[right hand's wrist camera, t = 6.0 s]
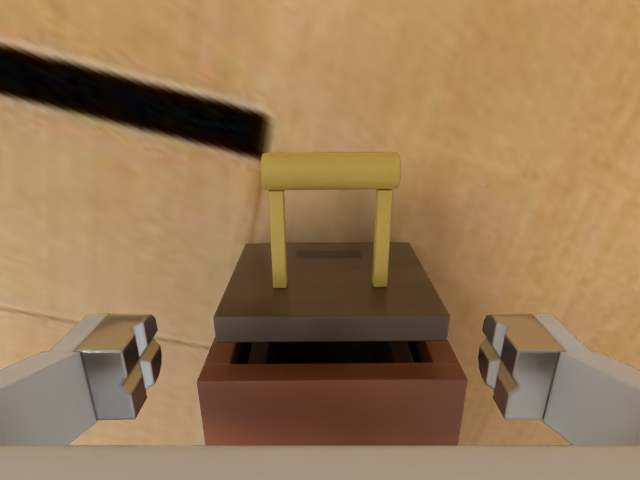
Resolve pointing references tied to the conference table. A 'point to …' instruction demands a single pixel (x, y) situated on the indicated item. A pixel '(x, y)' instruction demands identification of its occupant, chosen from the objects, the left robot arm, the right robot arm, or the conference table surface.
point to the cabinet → (332, 400)
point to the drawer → (330, 276)
